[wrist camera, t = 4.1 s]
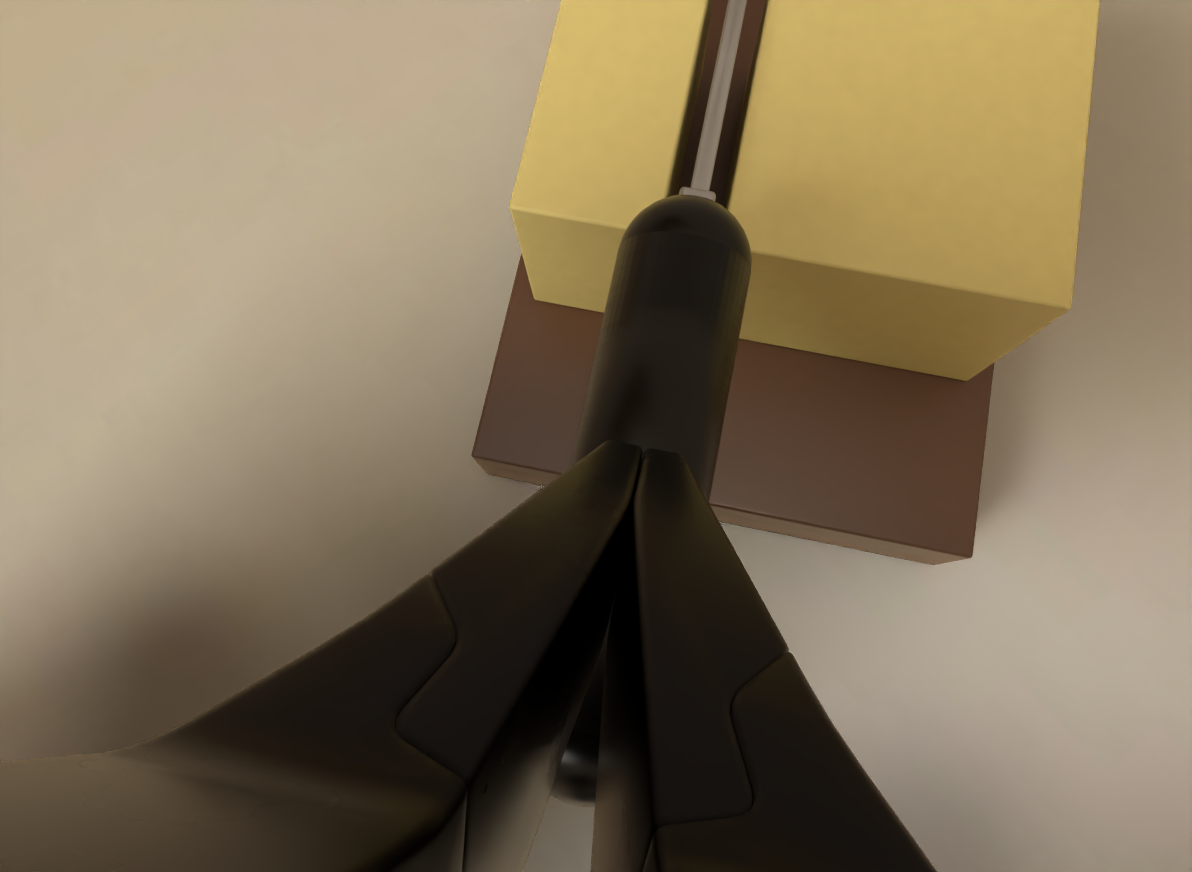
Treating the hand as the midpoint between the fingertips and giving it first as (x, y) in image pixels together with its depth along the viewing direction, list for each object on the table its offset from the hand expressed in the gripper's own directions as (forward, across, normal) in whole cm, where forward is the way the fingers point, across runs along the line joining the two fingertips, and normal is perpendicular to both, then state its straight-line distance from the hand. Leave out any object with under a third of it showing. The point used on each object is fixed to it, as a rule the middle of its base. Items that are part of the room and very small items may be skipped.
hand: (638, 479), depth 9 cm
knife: (+6, 0, +2) cm, 7 cm away
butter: (+10, -1, 0) cm, 10 cm away
